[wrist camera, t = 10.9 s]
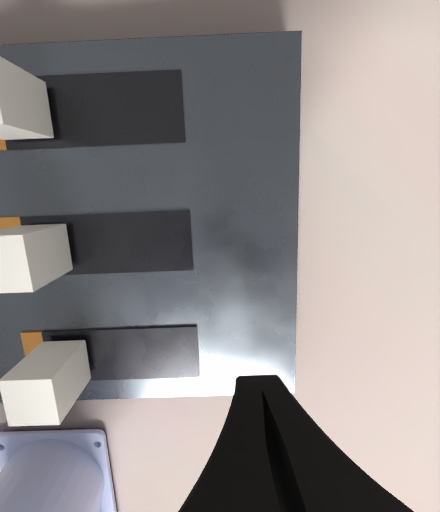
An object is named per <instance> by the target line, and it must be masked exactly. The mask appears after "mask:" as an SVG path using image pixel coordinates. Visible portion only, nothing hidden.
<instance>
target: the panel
mask: <svg viewBox="0 0 440 512" xmlns="http://www.w3.org/2000/svg"><path fill="white" fill-rule="evenodd" d="M301 36H302V31H285V32H264V33H243V34H221V35H200V36H179V37H158V38H136V39H115V40H94V41H72V42H51V43H30V44H9V45H0V56H1V57H2V58H4V59H6V60H8V61H9V62H11V63H13V64H14V65H16V66H18V67H20V68H21V69H23V70H25V71H27V72H28V73H30V74H32V75H34V76H35V77H37V78H39V79H41V80H42V81H44V82H46V89H47V95H48V102H49V108H50V115H51V121H52V128H53V134H54V138H39V139H16V140H2V139H0V229H5V228H9V227H14V226H19V225H44V224H66V228H67V234H68V240H69V247H70V253H71V260H72V266H73V269H72V270H71V271H69V272H67V273H66V274H64V275H62V276H60V277H59V278H57V279H55V280H53V281H52V282H50V283H48V284H47V285H45V286H43V287H41V288H40V289H38V290H36V291H34V292H24V293H0V379H1V378H2V377H3V376H4V375H5V374H6V373H8V372H9V371H10V370H11V369H12V368H13V367H14V366H15V365H17V364H18V363H19V362H20V361H21V360H22V359H23V358H24V357H26V356H27V355H28V354H29V353H30V352H31V351H32V350H34V349H35V348H36V347H37V346H38V345H39V344H40V343H41V342H46V341H76V340H85V342H86V348H87V355H88V361H89V368H90V374H91V379H90V381H89V382H88V384H87V385H86V387H85V388H84V390H83V391H82V393H81V394H80V396H79V397H78V399H77V400H96V399H128V398H160V397H192V396H223V395H234V390H235V379H236V378H237V377H238V376H248V375H278V376H279V377H280V378H281V380H282V381H283V383H284V384H285V386H286V387H287V388H288V390H289V391H290V392H291V393H295V354H296V301H297V248H298V195H299V142H300V89H301ZM0 402H3V400H2V396H1V392H0Z"/></svg>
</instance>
